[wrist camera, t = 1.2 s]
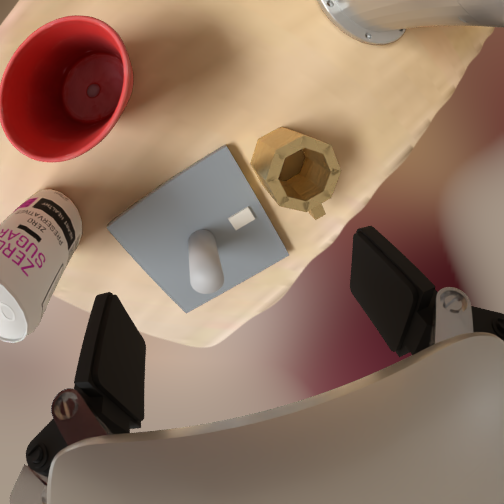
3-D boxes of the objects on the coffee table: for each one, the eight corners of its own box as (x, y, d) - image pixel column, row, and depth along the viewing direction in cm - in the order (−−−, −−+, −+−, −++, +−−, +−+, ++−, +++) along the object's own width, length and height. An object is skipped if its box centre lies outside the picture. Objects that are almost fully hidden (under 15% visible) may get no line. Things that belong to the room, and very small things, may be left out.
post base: (225, 144, 26) (239, 162, 20) (286, 250, 35) (311, 291, 28) (108, 223, 28) (89, 264, 21) (186, 308, 36) (189, 355, 29)
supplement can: (30, 249, 26) (-24, 336, 14) (24, 185, 22) (-55, 257, 10) (85, 256, 29) (45, 356, 16) (84, 189, 25) (18, 271, 12)
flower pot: (93, 162, 24) (56, 195, 16) (33, 96, 18) (-22, 104, 10) (171, 88, 22) (163, 82, 14) (106, 19, 16) (72, -11, 8)
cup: (241, 148, 27) (255, 161, 22) (297, 118, 26) (323, 125, 21) (278, 213, 32) (296, 239, 27) (326, 185, 31) (353, 205, 26)
